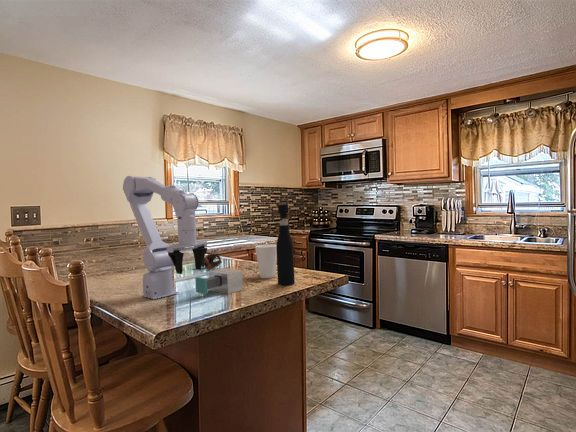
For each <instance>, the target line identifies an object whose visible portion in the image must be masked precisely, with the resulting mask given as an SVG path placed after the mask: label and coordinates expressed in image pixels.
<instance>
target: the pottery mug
mask: <svg viewBox="0 0 576 432" xmlns="http://www.w3.org/2000/svg"><path fill="white" fill-rule="evenodd" d="M215 259H218V260H216V261H214V260H215ZM221 259H222V257H221V256H220V255H219V254H217V253H208V254H207V255H205V256H204V259H203V263H202V267H201V268H204V267H205V268H206V269H207V270H208V271H212V269H214V268H217V267H220V265H221V264H223V261H222V260H221Z"/></svg>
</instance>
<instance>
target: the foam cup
mask: <svg viewBox="0 0 576 432" xmlns="http://www.w3.org/2000/svg"><path fill="white" fill-rule="evenodd" d="M276 245H277V244H271V243H270V244H268V243H267V244H258V245H255V247H254V248H255V253H256V254H255V255H256V260H257V265H258V272H259V276H260V278H262V279H270V278H275V277H276V273H277V250H276Z"/></svg>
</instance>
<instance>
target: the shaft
mask: <svg viewBox="0 0 576 432" xmlns="http://www.w3.org/2000/svg"><path fill="white" fill-rule="evenodd" d="M218 286H222V276H215V277H211V278H209V277H208V278H205V277H200V276H196V277H195V293H199V294H203V295H206V294H208V290H210V289H211V288H215V287H218Z"/></svg>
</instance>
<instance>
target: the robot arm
mask: <svg viewBox="0 0 576 432" xmlns="http://www.w3.org/2000/svg"><path fill="white" fill-rule="evenodd" d="M176 187H177V186H176V185H174V184H169V185H165V184H162V183H161V182H160V181H158V180H157V178H155V177H153V176H131V175H126V177H125V178H124V180H123V184H122V190H123V193H124V195H125V197H126V200H127V202H128V203H129V206H130V208H131V211H132V213H133V216H134V218H135V221H136V223H137V226H138V228H139V232H140V233H141V236H142V238H143V240H144V244H145V245H146V247H145V248H144V250H143V251H142V257H143V264H144V265H143V266H144V267H145V268H146V270H147V271H148V272H145V273H144V274H143V275H142V291H143V292H142V293H143V294H142V296H141V297H143V296H145V297H144V298H146V297H148V298H147V299H150V298H151V300H158V299H161V297H162V298H165V297H169V296H174V295H178V294H179V292H178V291H176V290H174V282H173V269H174V270H175V272H176V274H178V275H182V274H183V261H184V255H185V253H184V252H181V251H186V250H192V253H193V257H194V267H195V270H197V271H198V270H199V271H200V270H202V268H203V267H202V263H203V259H204V257H206V253H207V252H208V248H207V247H208V241H207V240H202V241H201V240H200V241H197V226H196V225H197V224H196V210H197V209H198V208H199V199H198V198H199V197H197V195H196V194H195V193H192V192H191V193H187V192H186V191H185V190H183V189H179V188H176ZM154 193H155V194H156V195H159V196H160V198H161V200H162V201H163V202H165V203H167V204H168V205H171V206H172V207H173V210H174V213H175V214H174V215H175V216H176V218H177V237H178V238H177V239H178V243H177V244H173V245H171V244H168V243H167V242H164V241H163V240H162V237H161V236H160V233H159V230H158V228H157V226H156V223H155V220H154V219H153V217H152V214H151V211H150V210H149V207H148V203H149V202H150V201H151V200H152V198H153V195H154ZM157 298H158V299H157Z"/></svg>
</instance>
